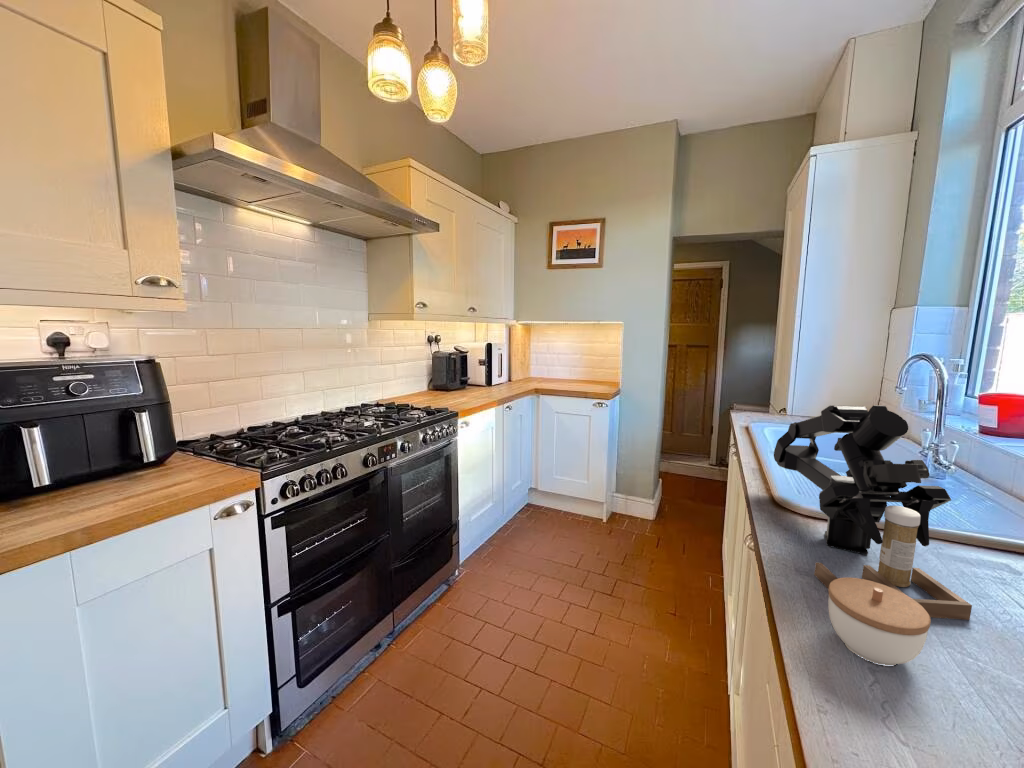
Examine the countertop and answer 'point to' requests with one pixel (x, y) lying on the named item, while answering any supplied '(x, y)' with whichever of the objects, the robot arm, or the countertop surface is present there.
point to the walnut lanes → (945, 598)
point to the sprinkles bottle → (898, 544)
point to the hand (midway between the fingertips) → (903, 544)
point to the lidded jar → (877, 620)
